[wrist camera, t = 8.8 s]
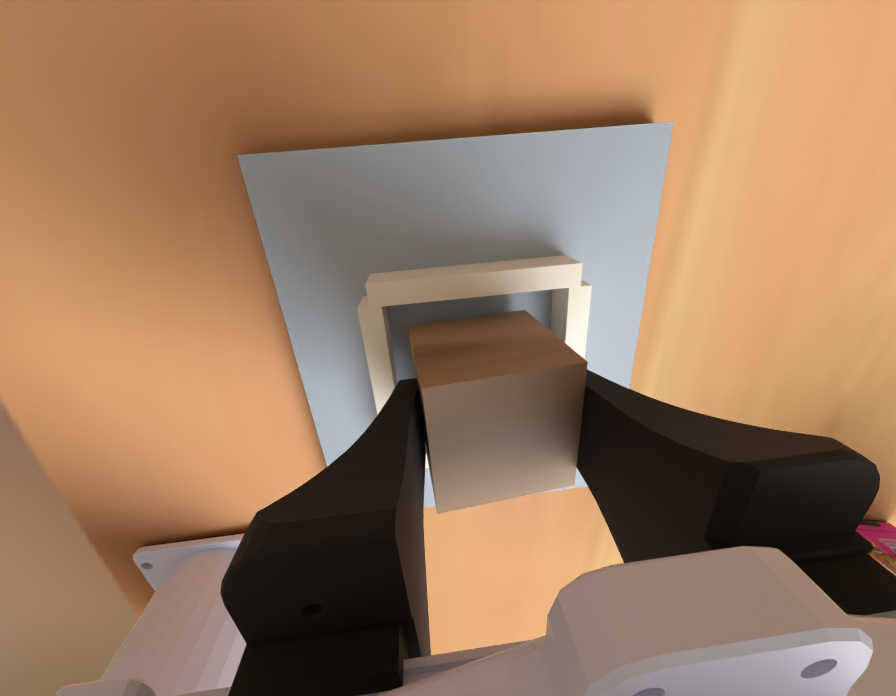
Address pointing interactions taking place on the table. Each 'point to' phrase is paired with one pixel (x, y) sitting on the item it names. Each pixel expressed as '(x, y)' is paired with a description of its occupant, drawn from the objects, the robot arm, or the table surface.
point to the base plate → (454, 252)
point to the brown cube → (497, 407)
